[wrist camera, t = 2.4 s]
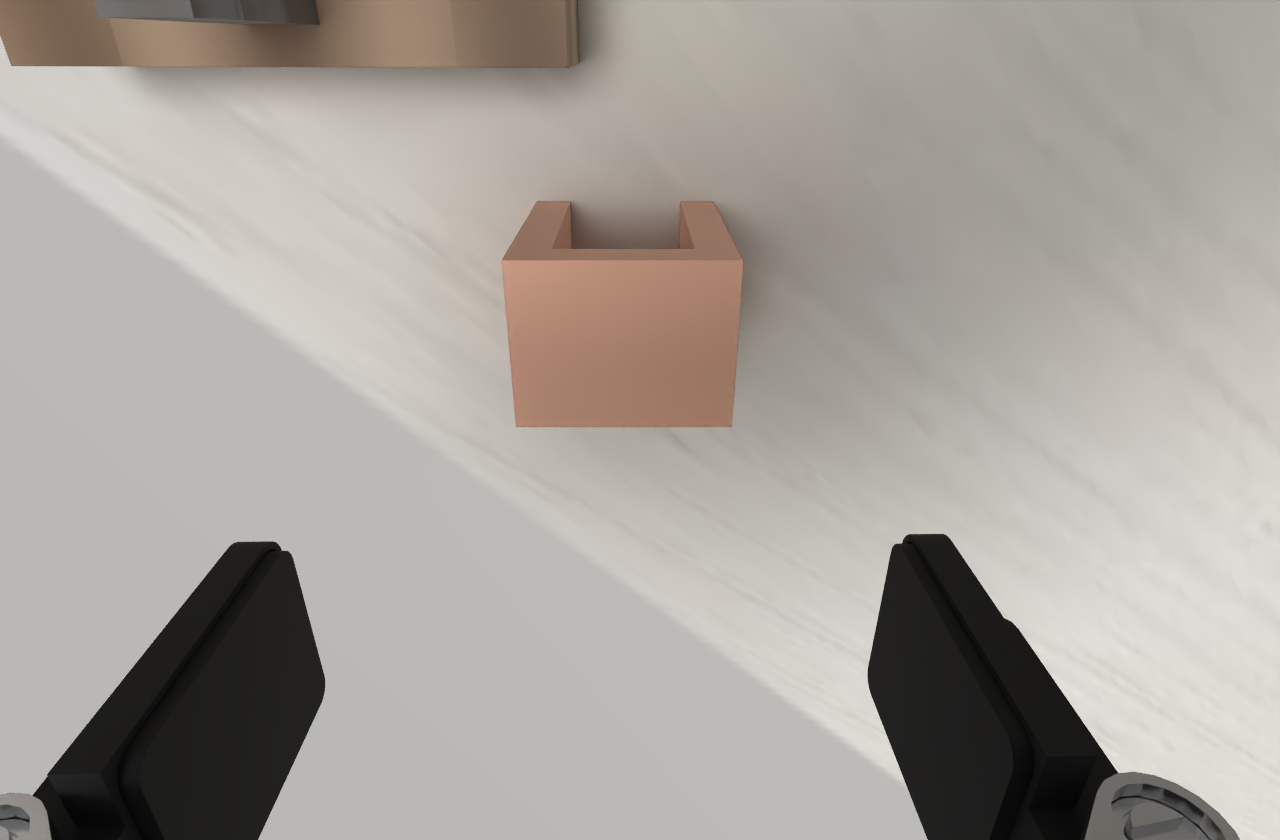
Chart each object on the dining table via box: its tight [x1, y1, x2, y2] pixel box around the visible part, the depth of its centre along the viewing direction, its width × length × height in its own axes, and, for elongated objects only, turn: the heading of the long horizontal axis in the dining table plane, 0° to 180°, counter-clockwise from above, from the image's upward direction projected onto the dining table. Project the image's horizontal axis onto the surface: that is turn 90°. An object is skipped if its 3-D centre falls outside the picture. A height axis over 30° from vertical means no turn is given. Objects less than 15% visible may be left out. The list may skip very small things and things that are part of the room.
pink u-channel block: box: [502, 201, 743, 427], centre depth 24 cm, size 6×5×8 cm
